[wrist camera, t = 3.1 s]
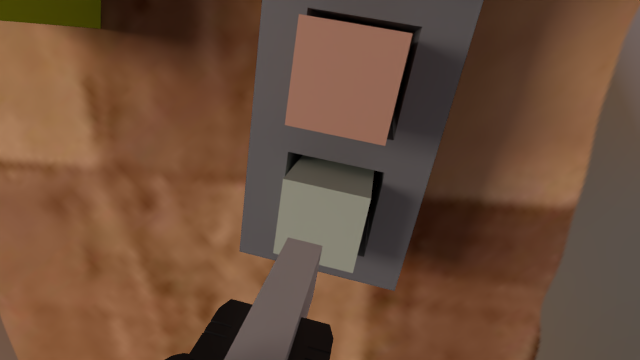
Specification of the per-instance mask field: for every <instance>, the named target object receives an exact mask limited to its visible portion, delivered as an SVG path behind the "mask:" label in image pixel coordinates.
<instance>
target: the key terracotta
mask: <svg viewBox="0 0 640 360" xmlns="http://www.w3.org/2000/svg"><path fill="white" fill-rule="evenodd" d="M412 35H413V33H407V32H401V31H395V30H389V29H384V28H378V27H372V26H366V25H360V24H354V23H348V22H342V21H337V20H331V19H325V18H319V17H313V16H307V15H301V14H299V17H298V25H297V33H296V40H295V48H294V56H293V64H292V72H291V80H290V87H289V95H288V103H287V111H286V119H285V125H287V126H292V127H297V128H301V129H306V130H311V131H316V132H321V133H325V134H330V135H335V136H340V137H345V138H349V139H354V140H359V141H364V142H369V143H373V144H378V145H383V146H385V145H386V140H387V136H388V132H389V128H390V124H391V120H392V116H393V112H394V108H395V104H396V100H397V96H398V92H399V88H400V83H401V79H402V75H403V71H404V67H405V63H406V59H407V55H408V51H409V47H410V43H411V39H412Z"/></svg>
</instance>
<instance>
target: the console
mask: <svg viewBox="0 0 640 360" xmlns="http://www.w3.org/2000/svg"><path fill="white" fill-rule="evenodd" d="M483 1H484V0H262V9H261V20H260V31H259V42H258V53H257V64H256V75H255V86H254V97H253V108H252V119H251V131H250V142H249V153H248V164H247V175H246V186H245V197H244V208H243V219H242V230H241V242H240V252H244V253H248V254H252V255H256V256H260V257H264V258H268V259H272V260H275V261H276V259H277V257H278V256H279V255H278V254H274V253H273V250H274V243H275V236H276V228H277V221H278V213H279V206H280V198H281V191H282V183H283V178H284V177H285V176H286V175H287V173H288V172H289V171H290V170H291V169H292V167H293V166H294V165H295V164H296V163H297V161H298V160H299V159H300V158H301V157H302V155H306V156H310V157H315V158H319V159H324V160H329V161H333V162H338V163H342V164H347V165H352V166H356V167H361V168H365V169H370V170H375V171H379V172H380V173H379V177H378V181H377V185H376V189H375V193H374V197H373V201H372V205H371V209H370V213H369V217H368V216H367V217H366V221H365V225H364V230H363V234H362V238H361V242H360V246H359V250H358V254H357V258H356V262H355V266H354V271H353V273H350V272H346V271H342V270H338V269H334V268H330V267H326V266H322V265H319V267H318V271H319V272H323V273H327V274H330V275H334V276H338V277H342V278H346V279H350V280H354V281H358V282H362V283H366V284H370V285H374V286H378V287H381V288H385V289H389V290H393V291H395V287H396V284H397V281H398V278H399V274H400V271H401V268H402V265H403V261H404V258H405V255H406V252H407V248H408V245H409V242H410V239H411V235H412V232H413V229H414V226H415V222H416V219H417V216H418V212H419V209H420V206H421V203H422V199H423V196H424V193H425V190H426V186H427V183H428V180H429V177H430V173H431V170H432V167H433V164H434V160H435V157H436V154H437V151H438V147H439V144H440V141H441V138H442V134H443V131H444V128H445V124H446V121H447V118H448V115H449V111H450V108H451V105H452V102H453V98H454V95H455V92H456V89H457V85H458V82H459V79H460V76H461V72H462V69H463V66H464V63H465V59H466V56H467V53H468V50H469V46H470V43H471V40H472V36H473V33H474V30H475V27H476V23H477V20H478V17H479V14H480V10H481V7H482V4H483ZM299 14H301V15H307V16H313V17H319V18H325V19H326V18H329V19H335V20H341V21H346V22H352V23H358V24H364V25H370V26H376V27H382V28H388V29H393V30H399V31H405V32H411V33H414V35H413V39H412V43H411V47H410V51H409V55H408V59H407V63H406V67H405V72H404V76H403V80H402V84H401V88H400V92H399V96H398V100H397V104H396V108H395V112H394V116H393V120H392V121H391V124H390V128H389V132H388V136H387V140H386V145H385V146H383V145H378V144H373V143H369V142H364V141H359V140H354V139H349V138H345V137H340V136H335V135H330V134H325V133H321V132H316V131H311V130H306V129H301V128H297V127H292V126H287V125H285V119H286V111H287V103H288V95H289V87H290V80H291V72H292V64H293V56H294V48H295V40H296V33H297V25H298V17H299Z"/></svg>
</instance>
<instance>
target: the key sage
mask: <svg viewBox="0 0 640 360" xmlns="http://www.w3.org/2000/svg"><path fill="white" fill-rule="evenodd" d="M373 177H374V170H370V169H365V168H361V167H356V166H352V165H347V164H342V163H338V162H333V161H329V160H324V159H319V158H315V157H310V156H306V155H302V157H301V158H300V159H299V160H298V161H297V163H296V164H295V165H294V166H293V167H292V169H291V170H290V171H289V172H288V173H287V175H286V176H285V177H284V178H283V183H282V191H281V198H280V206H279V213H278V221H277V228H276V236H275V243H274V250H273V253H274V254H278V255H279V254H280V252H281V250H282V248H283V246H284V244H285V242H286V240H287V238H288V237H289V238H293V239H297V240H301V241H305V242H309V243H313V244H317V245H321V246H322V252H321V257H320V262H319V265H322V266H326V267H330V268H334V269H338V270H342V271H346V272H350V273H353V271H354V266H355V262H356V258H357V254H358V250H359V246H360V242H361V238H362V234H363V230H364V225H365V221H366V217H367V213H368V209H369V205H370V201H371V195H372V186H373Z"/></svg>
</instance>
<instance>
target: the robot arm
mask: <svg viewBox="0 0 640 360" xmlns="http://www.w3.org/2000/svg"><path fill="white" fill-rule="evenodd" d="M321 252H322V246H321V245H317V244H313V243H309V242H305V241H301V240H297V239H293V238H289V237H288V238H287V240H286V242H285V244H284V246H283V248H282V250H281V252H280V254H279V256H278V257H277V259H276V261H275V263H274V265H273V267H272V269H271V271H270V273H269V275H268V277H267V278H266V280H265V282H264V284H263V286H262V288H261V290H260V292H259V294H258V296H257V298H256V300H255V301H254V303H253V305H251V304H248V303H244V302H240V301H237V300H233V299H231V300H229V301H228V302H227V303H225V304H224V305H222V306H221V307H220V308H219V309H218V310H217V312H216V313H215V315H214V316H213V318H212V320H211V322H210V323H209V324H208V326H207V327H206V329H205V331H204V333H202V335H201V337H200V338H199V340H198V341H197V343H196V344H195V346H194V347H193V349H192V351H191V352H190V354H185V353H182V354H177V355H173V356H171V357H169V358H167V359H165V360H329V359H330V354H331V348H332V343H333V335H332V331H331V328H330V325H329V324H325V323H321V322H318V321H314V320H310V319H307V318H306V317H307V314H308V311H309V307H310V304H311V301H312V297H313V293H314V288H315V282H316V277H317V272H318V267H319V262H320V257H321Z"/></svg>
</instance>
